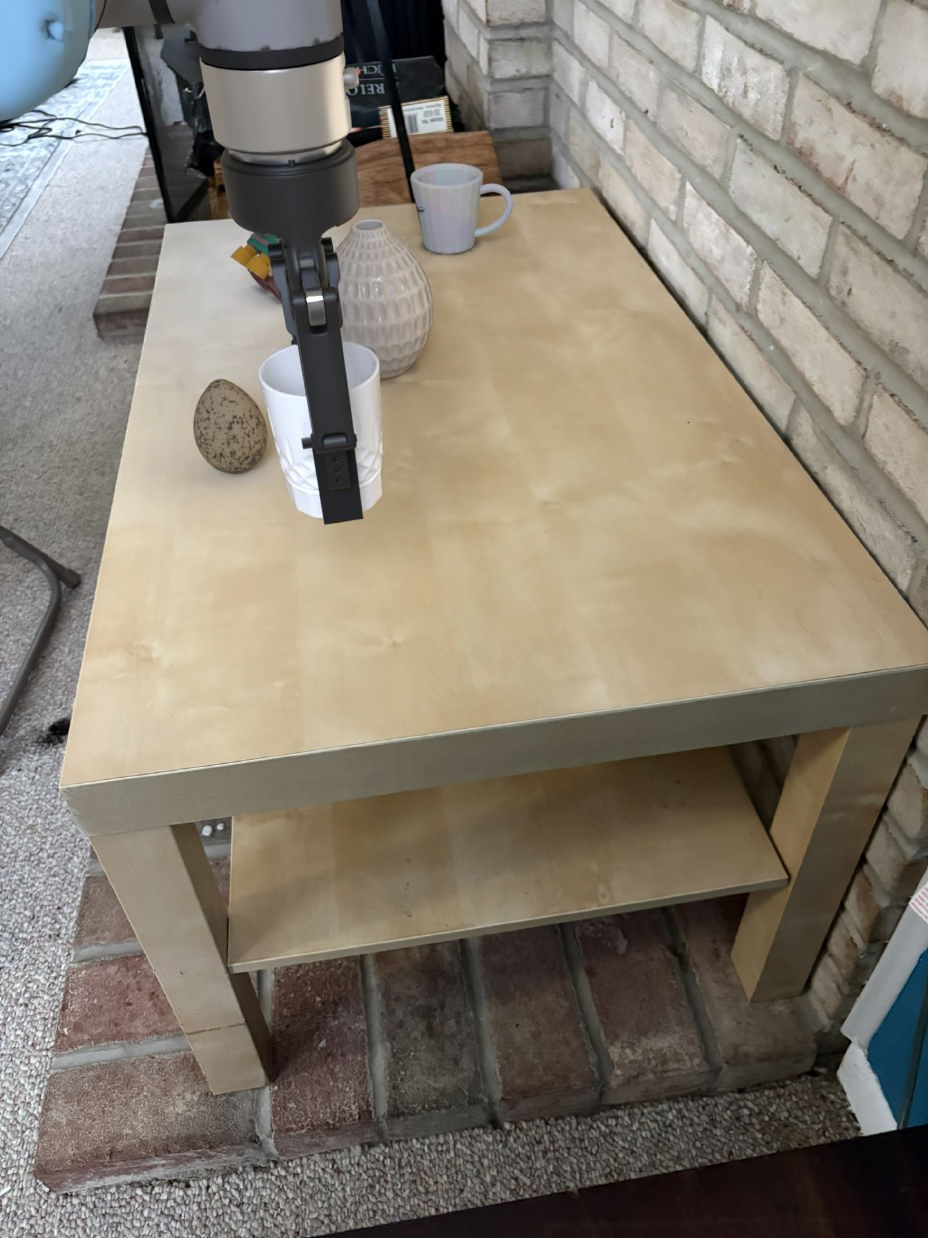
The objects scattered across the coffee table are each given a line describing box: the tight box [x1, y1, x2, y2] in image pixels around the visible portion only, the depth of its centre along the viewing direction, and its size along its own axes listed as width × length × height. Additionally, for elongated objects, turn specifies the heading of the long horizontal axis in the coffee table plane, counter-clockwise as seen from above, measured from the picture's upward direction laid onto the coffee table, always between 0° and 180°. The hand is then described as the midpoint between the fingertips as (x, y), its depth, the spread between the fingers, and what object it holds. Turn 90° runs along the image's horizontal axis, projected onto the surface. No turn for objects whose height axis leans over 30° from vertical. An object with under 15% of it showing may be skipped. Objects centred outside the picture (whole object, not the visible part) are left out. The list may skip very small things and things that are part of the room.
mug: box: [409, 162, 515, 255], centre depth 134 cm, size 10×15×10 cm
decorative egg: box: [192, 378, 268, 475], centre depth 92 cm, size 7×7×10 cm
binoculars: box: [229, 232, 280, 300], centre depth 124 cm, size 9×9×10 cm
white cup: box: [257, 341, 384, 520], centre depth 63 cm, size 8×8×10 cm
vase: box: [334, 218, 434, 380], centre depth 105 cm, size 13×13×17 cm
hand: (335, 485), depth 66 cm, fingers closed on white cup, 8 cm apart
